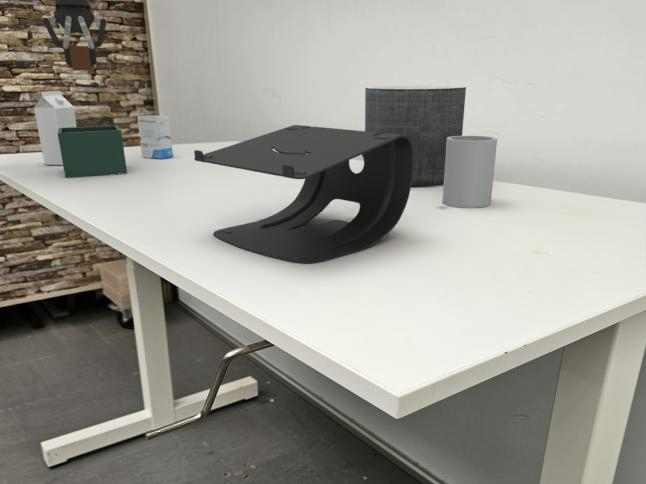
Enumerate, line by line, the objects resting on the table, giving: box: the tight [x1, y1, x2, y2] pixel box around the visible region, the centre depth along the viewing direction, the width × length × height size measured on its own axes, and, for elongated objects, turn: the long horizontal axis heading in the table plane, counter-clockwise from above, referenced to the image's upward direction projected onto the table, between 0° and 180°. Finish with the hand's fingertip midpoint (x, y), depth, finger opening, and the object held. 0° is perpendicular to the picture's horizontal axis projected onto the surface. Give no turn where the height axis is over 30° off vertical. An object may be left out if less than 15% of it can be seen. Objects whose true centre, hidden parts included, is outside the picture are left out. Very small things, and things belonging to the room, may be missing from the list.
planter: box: [364, 84, 467, 187], centre depth 138 cm, size 22×22×20 cm
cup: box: [442, 135, 498, 209], centre depth 115 cm, size 9×9×12 cm
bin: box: [58, 125, 128, 179], centre depth 155 cm, size 15×15×10 cm
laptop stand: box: [193, 124, 413, 264], centre depth 93 cm, size 26×24×16 cm
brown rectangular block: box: [69, 45, 93, 71], centre depth 140 cm, size 4×10×5 cm, turn 20°
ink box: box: [136, 115, 174, 160], centre depth 178 cm, size 9×5×12 cm, turn 59°
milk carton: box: [33, 90, 78, 166], centre depth 166 cm, size 7×7×19 cm
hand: (81, 66), depth 140 cm, fingers closed on brown rectangular block, 4 cm apart
